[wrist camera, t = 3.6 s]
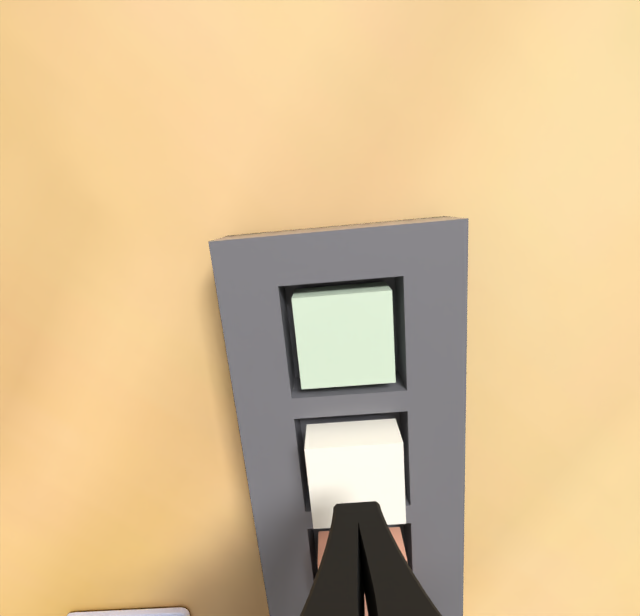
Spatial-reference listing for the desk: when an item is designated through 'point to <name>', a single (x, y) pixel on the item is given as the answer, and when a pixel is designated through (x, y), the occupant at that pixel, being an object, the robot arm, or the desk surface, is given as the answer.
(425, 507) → the keypad
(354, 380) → the sage key
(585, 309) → the desk surface
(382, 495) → the cream key
